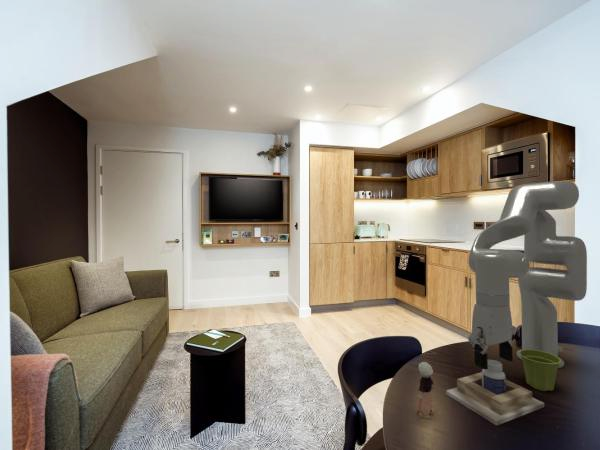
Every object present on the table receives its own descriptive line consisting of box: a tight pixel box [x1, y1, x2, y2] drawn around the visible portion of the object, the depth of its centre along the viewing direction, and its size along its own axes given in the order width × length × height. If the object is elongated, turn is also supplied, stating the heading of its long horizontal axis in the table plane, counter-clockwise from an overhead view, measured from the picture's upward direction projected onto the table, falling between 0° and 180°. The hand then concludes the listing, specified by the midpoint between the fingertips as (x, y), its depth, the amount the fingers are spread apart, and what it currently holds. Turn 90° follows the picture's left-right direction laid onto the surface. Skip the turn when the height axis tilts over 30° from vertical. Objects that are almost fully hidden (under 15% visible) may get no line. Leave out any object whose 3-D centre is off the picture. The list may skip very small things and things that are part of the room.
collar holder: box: [445, 371, 545, 426], centre depth 79 cm, size 18×14×4 cm
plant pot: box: [519, 349, 562, 392], centre depth 85 cm, size 9×9×9 cm
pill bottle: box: [481, 359, 507, 395], centre depth 79 cm, size 5×5×9 cm
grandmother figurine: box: [416, 361, 436, 420], centre depth 73 cm, size 8×4×13 cm, turn 145°
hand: (493, 363), depth 79 cm, fingers open, 9 cm apart
